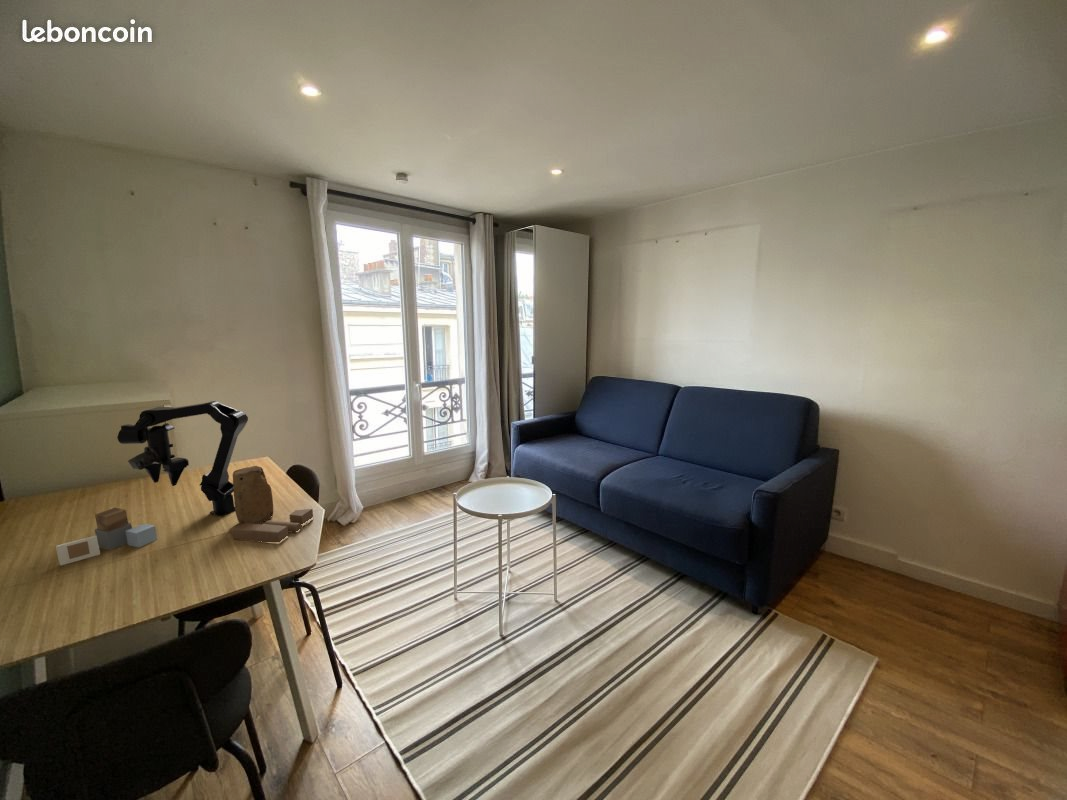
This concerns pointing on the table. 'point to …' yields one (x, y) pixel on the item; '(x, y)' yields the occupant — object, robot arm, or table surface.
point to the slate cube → (141, 535)
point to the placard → (78, 550)
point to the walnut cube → (111, 519)
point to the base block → (112, 537)
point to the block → (252, 495)
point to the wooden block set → (272, 528)
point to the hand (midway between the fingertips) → (165, 483)
